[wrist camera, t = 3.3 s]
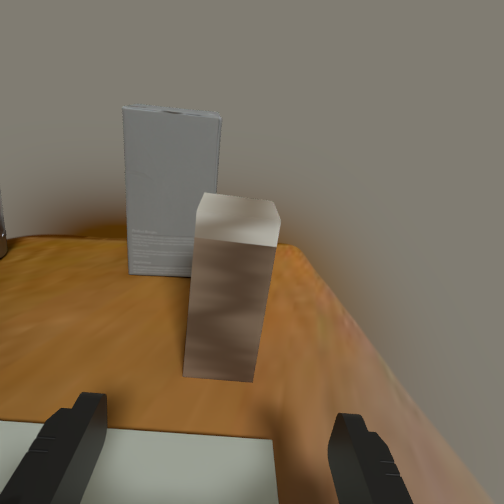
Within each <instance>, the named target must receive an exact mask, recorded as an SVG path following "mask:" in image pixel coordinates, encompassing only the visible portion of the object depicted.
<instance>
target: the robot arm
mask: <svg viewBox="0 0 504 504" xmlns="http://www.w3.org/2000/svg"><path fill="white" fill-rule="evenodd" d="M6 252H7V240H6V230H5V225H4V217H3V207H2V199H1V191H0V258H1V257H3V256H4V255H5V254H6ZM106 433H107V396H106V394H101V393H88V392H82V393H81V394H80V395H79V397H78V399H77V400H76V402H75V404H74V406H73V408H72V409H69V408H60V409H59V410H58V411H57V412H56V413H55V414H53V415H52V416H51V417H50V418H49V419H47V420H46V422H45V423H44V425H43V427H42V428H41V430H40V431H39V433H38V435H37V437H36V439H34V441H33V443H32V444H31V446H30V447H29V450H28V452H26V454H25V455H24V457H23V459H22V460H21V462H20V463H19V465H18V466H17V468H16V470H15V471H14V473H13V474H12V476H11V478H10V479H9V481H8V482H7V484H6V486H5V487H4V489H3V490H2V492H1V494H0V504H80V502H81V500H82V497H83V495H84V492H85V490H86V488H87V485H88V483H89V480H90V478H91V475H92V473H93V470H94V468H95V465H96V463H97V460H98V458H99V456H100V453H101V451H102V448H103V445H104V442H105V438H106ZM328 461H329V466H330V470H331V474H332V477H333V481H334V485H335V489H336V493H337V497H338V501H339V504H413V502H412V499H411V497H410V495H409V493H408V491H407V488H406V486H405V484H404V482H403V479H402V477H400V473H399V470H398V468H397V466H396V464H394V459H393V457H392V455H391V453H390V450H389V448H388V446H387V445H386V444H385V442H384V441H383V440H382V439H381V438H380V437H379V435H378V434H377V433H376V432H368V430H367V427H366V425H365V422H364V420H363V418H362V416H361V415H359V414H346V413H338V415H337V417H336V420H335V423H334V427H333V430H332V433H331V437H330V440H329V444H328Z"/></svg>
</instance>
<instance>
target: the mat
mask: <svg viewBox="0 0 504 504" xmlns="http://www.w3.org/2000/svg"><path fill="white" fill-rule="evenodd" d="M43 425H44V424H37V423H23V422H9V421H0V494H1V492H2V490H3V489H4V487H5V486H6V484H7V482H8V481H9V479H10V478H11V476H12V474H13V473H14V471H15V470H16V468H17V466H18V465H19V463H20V462H21V460H22V459H23V457H24V455H25V454H26V452H28V450H29V447H30V446H31V444H32V443H33V441H34V439H36V437H37V435H38V433H39V431H40V430H41V428H42V427H43ZM80 504H279V502H278V493H277V483H276V473H275V464H274V454H273V444H272V440H265V439H251V438H237V437H222V436H208V435H194V434H180V433H165V432H151V431H137V430H123V429H108V428H107V433H106V438H105V442H104V445H103V448H102V451H101V453H100V456H99V458H98V460H97V463H96V465H95V468H94V470H93V473H92V475H91V478H90V480H89V483H88V485H87V488H86V490H85V492H84V495H83V497H82V500H81V502H80Z"/></svg>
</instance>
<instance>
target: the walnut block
mask: <svg viewBox="0 0 504 504" xmlns="http://www.w3.org/2000/svg"><path fill="white" fill-rule="evenodd" d="M280 224H281V220H280V217H279V215H278V212H277V210H276V207H275V205H274V202H273V201H267V200H259V199H252V198H244V197H236V196H228V195H221V194H213V193H205V192H204V195H203V197H202V199H201V202H200V204H199V206H198V209H197V213H196V225H195V237H194V249H193V261H192V273H191V285H190V297H189V309H188V321H187V333H186V345H185V357H184V369H183V377H193V378H204V379H216V380H228V381H240V382H252V383H253V377H254V371H255V366H256V360H257V354H258V349H259V343H260V337H261V332H262V326H263V320H264V315H265V309H266V303H267V298H268V292H269V286H270V281H271V275H272V269H273V264H274V258H275V252H276V247H277V241H278V235H279V230H280Z"/></svg>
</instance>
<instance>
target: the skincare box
mask: <svg viewBox="0 0 504 504" xmlns="http://www.w3.org/2000/svg"><path fill="white" fill-rule="evenodd" d="M122 112H123V132H124V156H125V184H126V214H127V244H128V267H129V274H130V275H153V276H179V277H191V273H192V261H193V249H194V237H195V225H196V213H197V209H198V206H199V204H200V202H201V199H202V197H203V195H204V192H205V193H213V194H216V192H217V178H218V164H219V150H220V137H221V127H222V118H221V116H220V115H219V112H211V111H200V110H189V109H180V108H170V107H161V106H151V105H142V104H134V105H129V106H124V107H122Z"/></svg>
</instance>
